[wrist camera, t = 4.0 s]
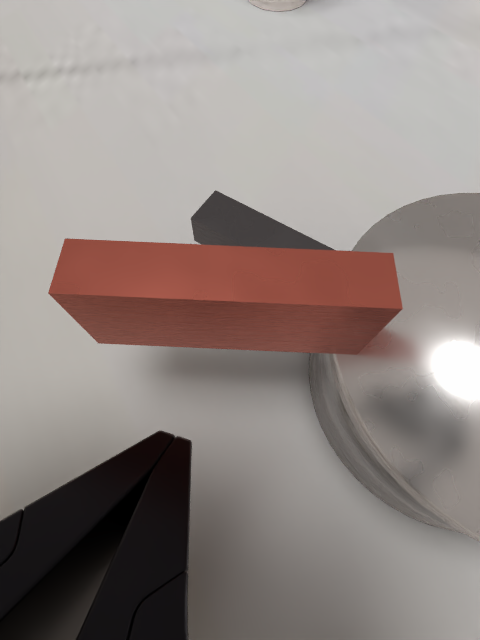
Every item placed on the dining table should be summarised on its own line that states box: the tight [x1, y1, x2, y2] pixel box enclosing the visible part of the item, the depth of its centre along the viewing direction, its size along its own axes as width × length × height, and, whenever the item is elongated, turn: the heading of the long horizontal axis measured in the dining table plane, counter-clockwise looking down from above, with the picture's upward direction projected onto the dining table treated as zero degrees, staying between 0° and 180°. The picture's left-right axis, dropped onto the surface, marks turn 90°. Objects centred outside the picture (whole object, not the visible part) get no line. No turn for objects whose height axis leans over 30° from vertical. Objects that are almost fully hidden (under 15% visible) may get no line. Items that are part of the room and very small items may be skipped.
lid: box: [49, 193, 480, 542], centre depth 12 cm, size 23×15×5 cm, turn 88°
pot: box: [191, 190, 463, 533], centre depth 17 cm, size 24×14×5 cm, turn 58°
